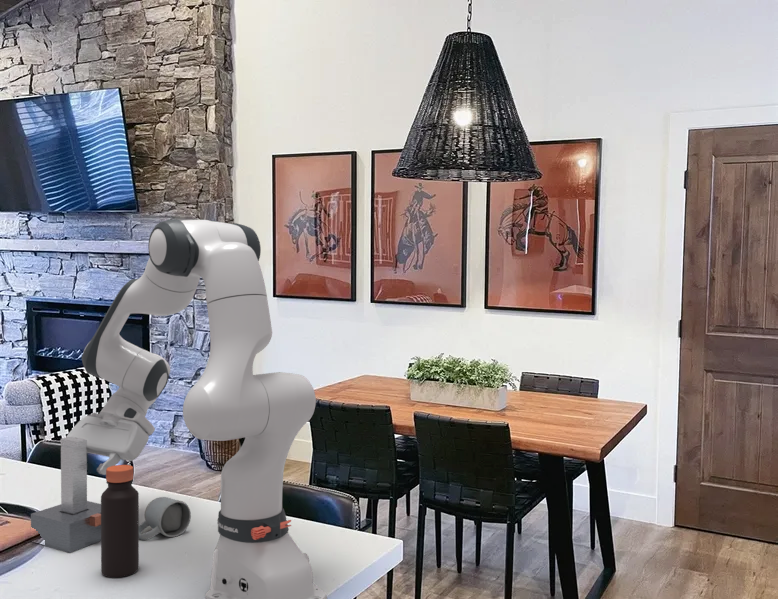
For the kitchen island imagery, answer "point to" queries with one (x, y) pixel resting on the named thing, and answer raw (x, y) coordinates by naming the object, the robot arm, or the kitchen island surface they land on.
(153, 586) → the kitchen island surface
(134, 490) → the bottle
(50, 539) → the stand sleeve
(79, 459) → the column
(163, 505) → the ceramic mug
